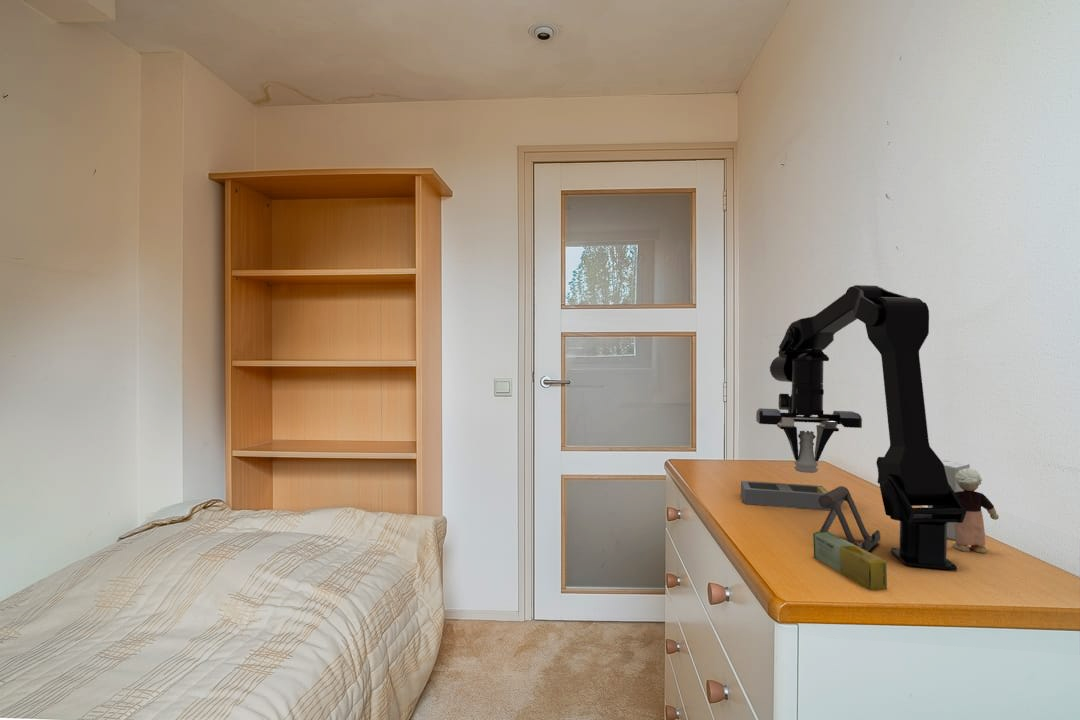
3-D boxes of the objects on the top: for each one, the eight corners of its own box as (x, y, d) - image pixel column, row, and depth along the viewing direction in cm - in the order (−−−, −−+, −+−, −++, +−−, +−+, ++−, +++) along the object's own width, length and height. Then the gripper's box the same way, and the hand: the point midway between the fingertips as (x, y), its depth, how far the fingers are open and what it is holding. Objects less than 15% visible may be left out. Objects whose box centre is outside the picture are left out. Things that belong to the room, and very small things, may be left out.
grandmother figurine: (984, 546, 89) (985, 466, 89) (1001, 554, 86) (1003, 471, 85) (932, 543, 90) (934, 465, 90) (947, 552, 86) (949, 470, 86)
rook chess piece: (822, 473, 111) (822, 433, 111) (799, 472, 111) (800, 432, 111) (812, 469, 116) (812, 430, 116) (790, 468, 116) (790, 429, 116)
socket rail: (831, 510, 109) (832, 495, 109) (744, 504, 113) (745, 489, 113) (821, 500, 117) (822, 485, 117) (740, 494, 121) (740, 480, 121)
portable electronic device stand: (865, 558, 83) (866, 502, 83) (809, 545, 89) (810, 492, 89) (880, 544, 90) (881, 492, 90) (827, 533, 95) (828, 484, 95)
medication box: (811, 558, 84) (811, 531, 84) (828, 557, 84) (828, 530, 84) (869, 592, 72) (869, 561, 72) (889, 590, 72) (888, 559, 72)
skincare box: (955, 541, 92) (957, 467, 92) (925, 533, 95) (926, 462, 95) (971, 534, 95) (972, 463, 95) (941, 527, 99) (942, 459, 99)
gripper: (846, 383, 119) (845, 456, 119) (753, 381, 124) (752, 451, 124) (863, 385, 108) (862, 465, 108) (760, 383, 113) (759, 460, 113)
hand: (806, 460), depth 114 cm, fingers closed on rook chess piece, 3 cm apart
